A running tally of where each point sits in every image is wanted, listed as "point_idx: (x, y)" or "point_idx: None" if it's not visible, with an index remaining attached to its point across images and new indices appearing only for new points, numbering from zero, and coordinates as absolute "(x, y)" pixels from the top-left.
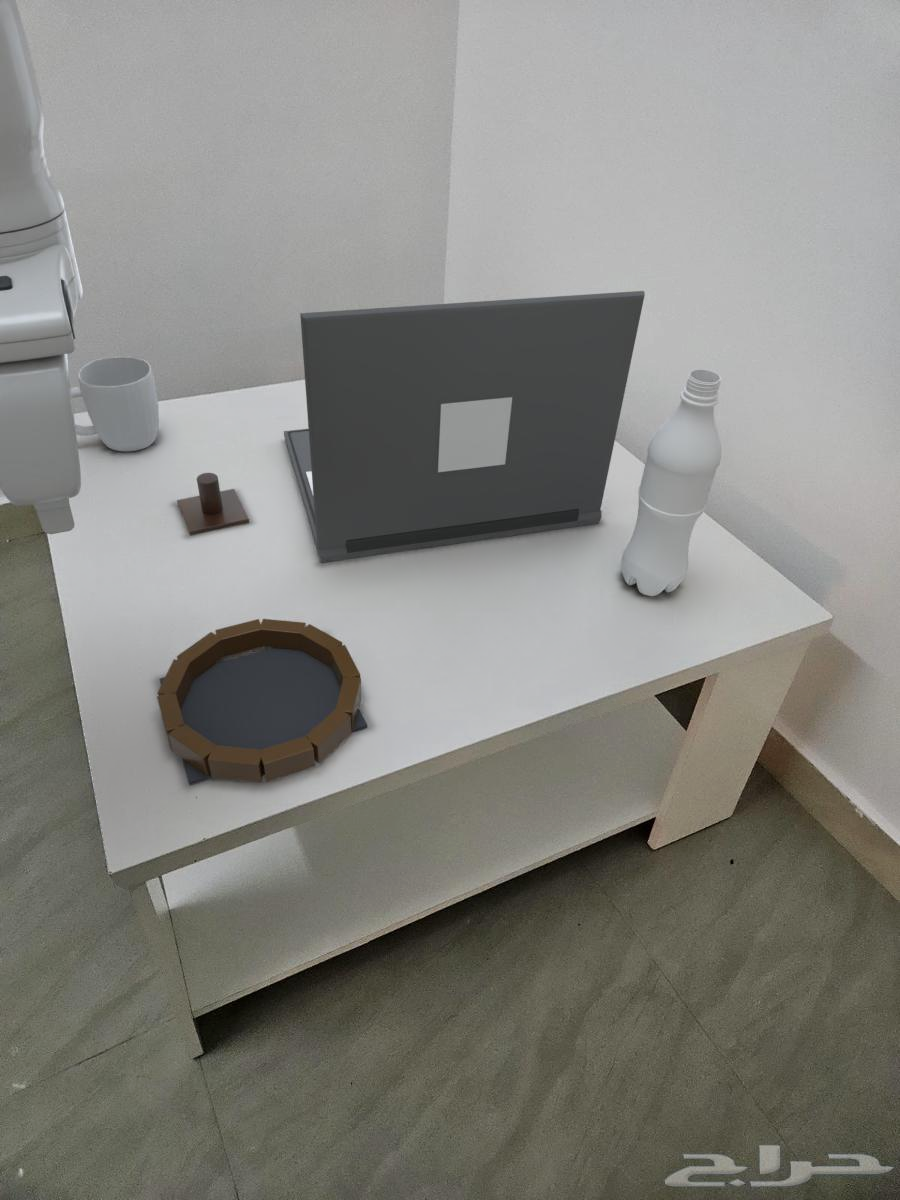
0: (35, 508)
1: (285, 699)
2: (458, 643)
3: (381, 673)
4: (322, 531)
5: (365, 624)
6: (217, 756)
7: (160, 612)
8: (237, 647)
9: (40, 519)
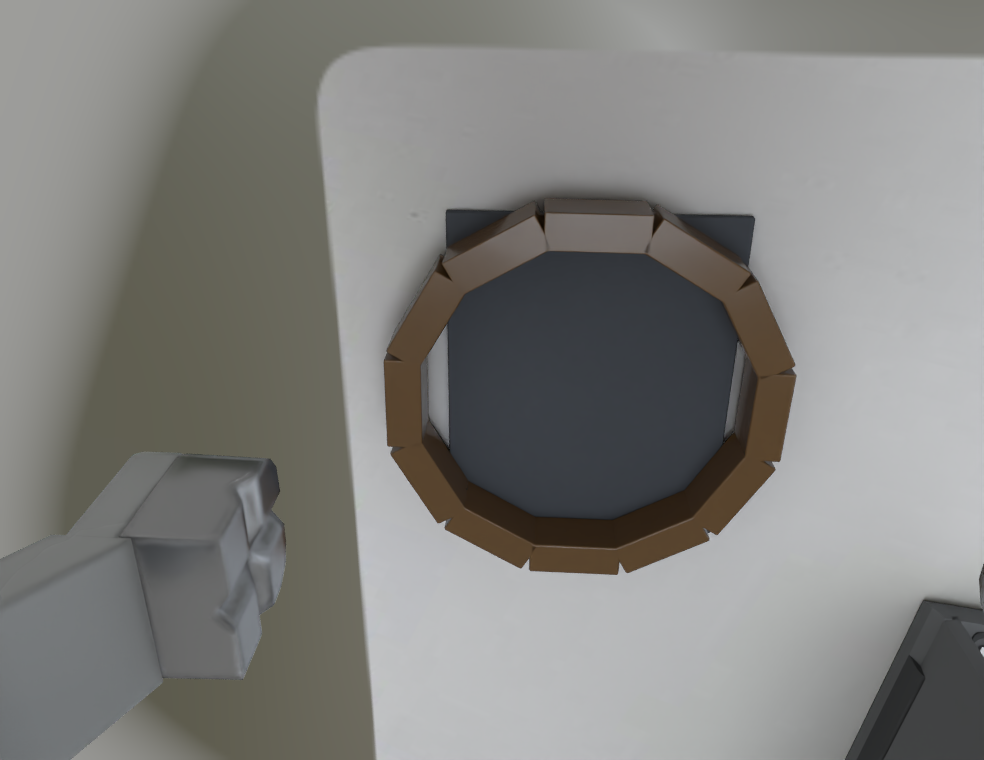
0: (9, 559)
1: (572, 425)
2: (573, 705)
3: (564, 581)
4: (960, 664)
5: (699, 603)
6: (434, 290)
7: (981, 263)
8: (745, 391)
9: (101, 500)
